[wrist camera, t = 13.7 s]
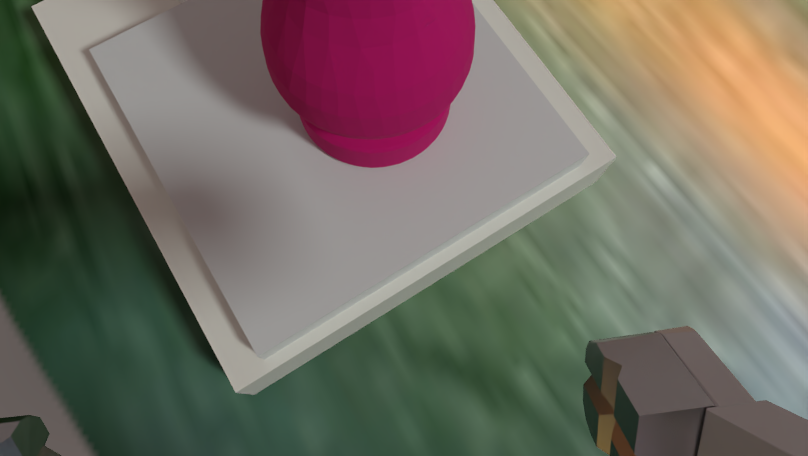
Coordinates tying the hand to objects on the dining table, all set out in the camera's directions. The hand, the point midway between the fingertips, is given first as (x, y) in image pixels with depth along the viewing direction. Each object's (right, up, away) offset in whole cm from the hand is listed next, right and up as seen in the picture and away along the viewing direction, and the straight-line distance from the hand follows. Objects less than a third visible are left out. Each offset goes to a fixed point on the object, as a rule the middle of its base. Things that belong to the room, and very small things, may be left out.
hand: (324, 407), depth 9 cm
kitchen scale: (-3, +8, +20) cm, 22 cm away
